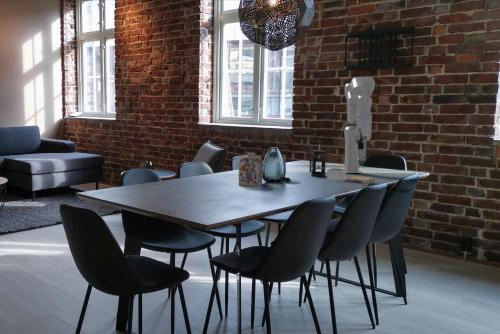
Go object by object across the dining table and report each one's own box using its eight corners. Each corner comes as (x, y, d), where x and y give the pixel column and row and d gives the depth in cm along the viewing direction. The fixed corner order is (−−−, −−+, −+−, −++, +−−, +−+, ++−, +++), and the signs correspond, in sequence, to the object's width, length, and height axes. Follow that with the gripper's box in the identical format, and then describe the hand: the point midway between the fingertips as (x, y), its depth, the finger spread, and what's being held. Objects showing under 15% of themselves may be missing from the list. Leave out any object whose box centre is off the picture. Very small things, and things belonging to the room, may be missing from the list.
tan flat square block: (354, 181, 306) (354, 176, 306) (374, 182, 300) (374, 177, 299) (347, 183, 296) (347, 178, 295) (367, 185, 290) (367, 180, 289)
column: (358, 160, 300) (360, 135, 298) (367, 161, 297) (368, 136, 295) (356, 161, 295) (357, 136, 294) (364, 162, 293) (365, 136, 291)
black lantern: (329, 178, 318) (331, 141, 315) (321, 179, 311) (322, 141, 308) (314, 176, 326) (315, 140, 323) (305, 177, 319) (306, 140, 316)
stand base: (331, 178, 314) (331, 167, 313) (349, 180, 308) (350, 169, 307) (323, 181, 304) (323, 169, 303) (342, 183, 297) (342, 171, 297)
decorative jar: (258, 186, 280) (259, 154, 278) (238, 185, 282) (238, 153, 280) (262, 183, 292) (263, 152, 289) (242, 182, 294) (243, 151, 292)
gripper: (362, 117, 302) (360, 147, 305) (352, 117, 288) (350, 149, 290) (374, 117, 298) (373, 148, 301) (364, 117, 284) (363, 150, 286)
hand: (362, 148), depth 295 cm, fingers closed on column, 4 cm apart
